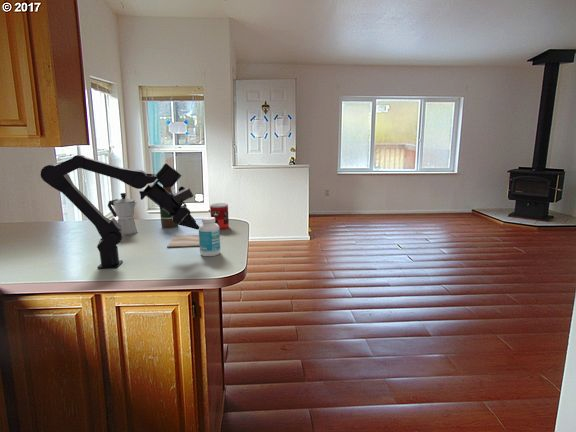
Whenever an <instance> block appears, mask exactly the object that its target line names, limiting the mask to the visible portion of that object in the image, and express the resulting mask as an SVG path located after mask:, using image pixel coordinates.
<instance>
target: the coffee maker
mask: <svg viewBox="0 0 576 432" xmlns="http://www.w3.org/2000/svg"><path fill="white" fill-rule="evenodd" d="M120 197H121V198H120V199H119V198H116V199H112V200H109V201H108V202H107V207H108V209H109V211H110V212H111V213H112V216H113V217H114V218H117V223H119V224H120V225H122V227H121V228H122V230H123V236H131V235H135V234H137V233H138V229H137V225H136V221H135V218H134V215H135V207H136V204H137V202H136V201H135V199H131V198H127V192H122V193H120ZM113 207H114V208H113Z"/></svg>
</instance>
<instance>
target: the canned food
mask: <svg viewBox="0 0 576 432" xmlns="http://www.w3.org/2000/svg"><path fill="white" fill-rule="evenodd" d="M209 209H210V217H214V218H215V223H216V224H218V225H219V231H221V230H220V229H223V230H226V229H228V228H229V226H230V225H229V224H230V221H229V204H228V203H225V202H220V203H219V202H218V203H211V204H210V205H209Z"/></svg>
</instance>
